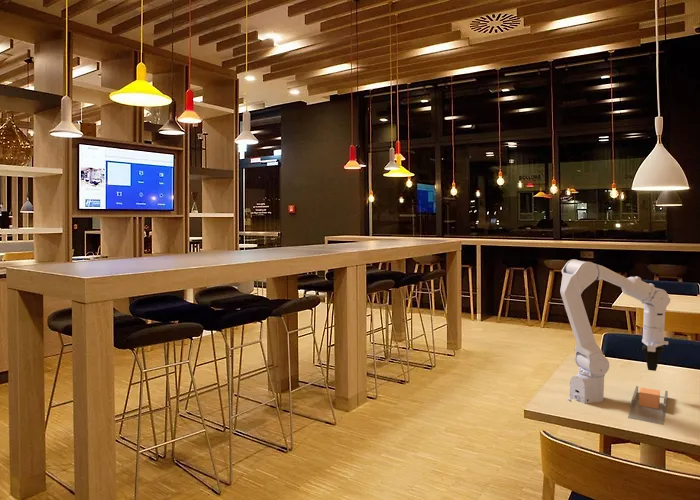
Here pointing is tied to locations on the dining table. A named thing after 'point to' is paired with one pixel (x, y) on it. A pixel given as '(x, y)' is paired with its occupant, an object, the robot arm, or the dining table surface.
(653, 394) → the block
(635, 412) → the channel
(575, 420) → the dining table surface
